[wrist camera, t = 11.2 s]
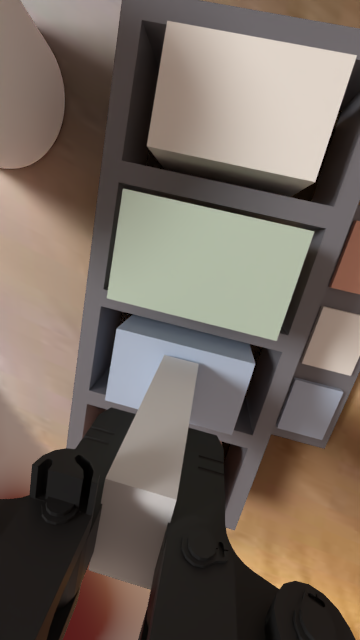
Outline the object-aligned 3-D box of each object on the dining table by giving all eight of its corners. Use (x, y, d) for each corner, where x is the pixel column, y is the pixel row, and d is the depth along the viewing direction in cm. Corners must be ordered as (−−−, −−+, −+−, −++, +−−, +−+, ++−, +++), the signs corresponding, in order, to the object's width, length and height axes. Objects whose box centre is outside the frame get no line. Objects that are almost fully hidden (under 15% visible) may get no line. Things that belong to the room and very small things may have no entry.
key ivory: (181, 79, 12) (167, 20, 9) (318, 106, 12) (357, 55, 9) (164, 169, 13) (146, 145, 10) (290, 196, 13) (315, 181, 10)
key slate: (138, 309, 15) (116, 328, 12) (247, 336, 15) (255, 364, 12) (128, 367, 16) (104, 400, 13) (229, 394, 16) (231, 435, 13)
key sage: (149, 202, 12) (122, 188, 9) (287, 233, 12) (314, 231, 9) (134, 283, 13) (106, 298, 10) (261, 314, 13) (276, 341, 10)
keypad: (147, 51, 13) (123, -14, 10) (366, 93, 12) (420, 39, 9) (89, 438, 20) (62, 479, 16) (231, 479, 19) (234, 530, 16)
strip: (343, 204, 14) (351, 202, 13) (419, 220, 14) (432, 219, 13) (262, 425, 18) (264, 435, 17) (321, 441, 17) (326, 452, 16)
